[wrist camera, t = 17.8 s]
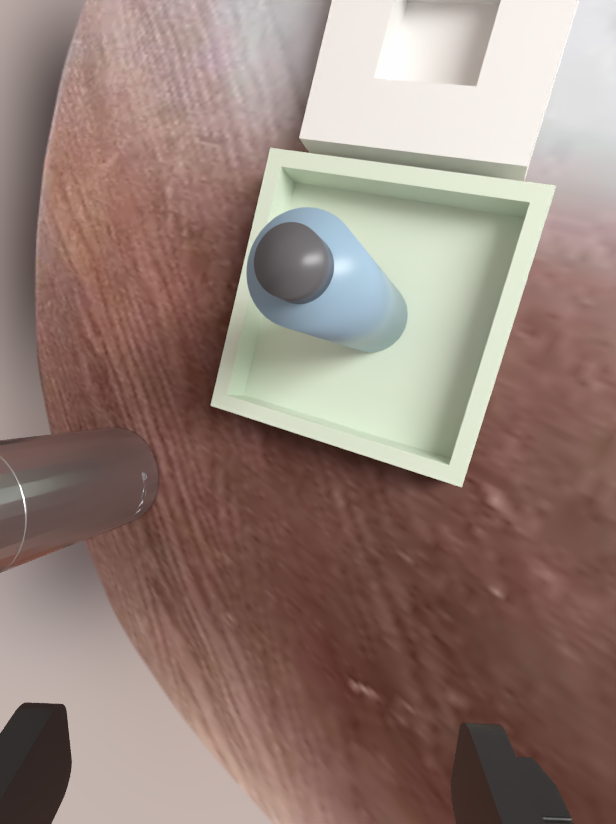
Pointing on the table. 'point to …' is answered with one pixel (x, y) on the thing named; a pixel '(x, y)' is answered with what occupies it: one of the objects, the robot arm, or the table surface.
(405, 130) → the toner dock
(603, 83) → the table surface
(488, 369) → the tray
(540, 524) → the table surface
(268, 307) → the bottle
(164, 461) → the table surface
